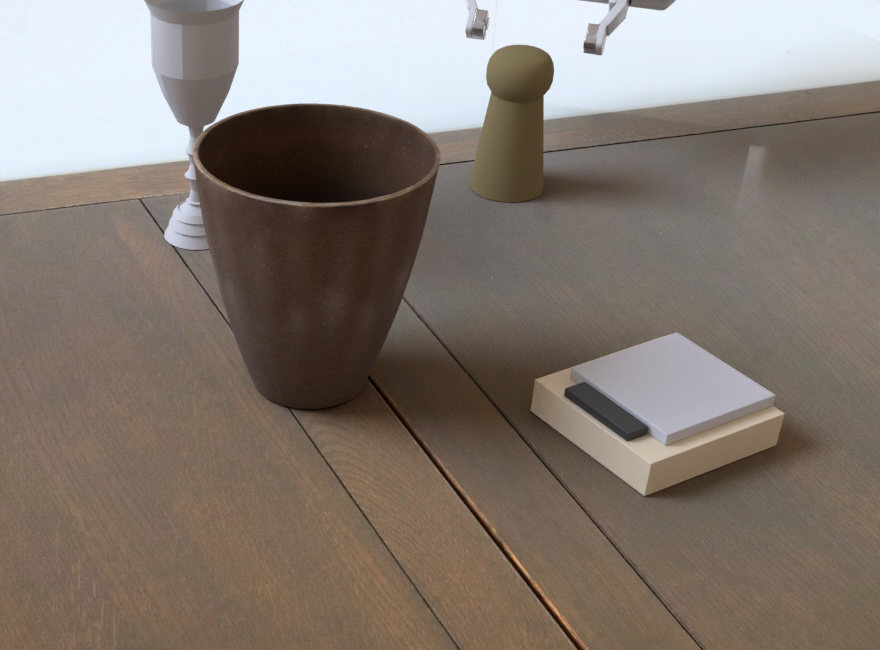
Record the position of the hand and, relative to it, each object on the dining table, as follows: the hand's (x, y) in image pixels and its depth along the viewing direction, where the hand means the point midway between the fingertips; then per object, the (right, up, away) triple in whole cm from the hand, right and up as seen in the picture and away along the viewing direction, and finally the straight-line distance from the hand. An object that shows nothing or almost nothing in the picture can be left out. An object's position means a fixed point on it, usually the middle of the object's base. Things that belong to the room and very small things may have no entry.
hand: (533, 43), depth 124 cm
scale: (+3, -34, -24) cm, 41 cm away
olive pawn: (-2, -11, +3) cm, 11 cm away
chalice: (-26, -16, -4) cm, 31 cm away
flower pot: (-19, -30, -19) cm, 40 cm away
